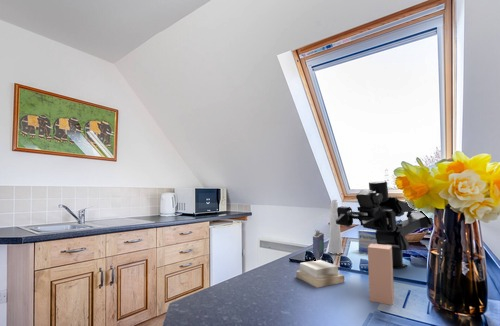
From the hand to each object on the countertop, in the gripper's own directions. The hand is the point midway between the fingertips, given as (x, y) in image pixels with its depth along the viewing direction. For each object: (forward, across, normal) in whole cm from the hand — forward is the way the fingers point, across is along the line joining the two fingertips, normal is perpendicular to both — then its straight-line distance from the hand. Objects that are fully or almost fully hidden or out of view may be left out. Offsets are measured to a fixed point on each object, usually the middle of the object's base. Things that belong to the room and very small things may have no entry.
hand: (349, 223), depth 86 cm
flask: (-11, -23, +18) cm, 32 cm away
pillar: (+8, +12, +16) cm, 22 cm away
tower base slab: (+8, -7, +16) cm, 19 cm away
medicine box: (-36, -17, +22) cm, 46 cm away
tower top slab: (+8, -7, +14) cm, 17 cm away
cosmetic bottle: (-23, -24, +20) cm, 39 cm away
